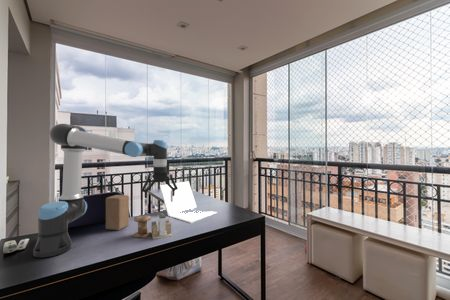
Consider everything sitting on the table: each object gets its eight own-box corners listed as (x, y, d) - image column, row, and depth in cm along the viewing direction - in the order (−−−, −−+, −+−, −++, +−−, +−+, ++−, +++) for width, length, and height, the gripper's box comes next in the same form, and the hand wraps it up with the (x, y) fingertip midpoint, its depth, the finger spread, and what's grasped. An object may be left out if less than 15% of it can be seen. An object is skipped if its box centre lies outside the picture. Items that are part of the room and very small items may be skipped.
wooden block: (119, 230, 132) (119, 198, 132) (104, 229, 134) (105, 197, 134) (129, 225, 142) (129, 195, 142) (116, 224, 144) (116, 194, 144)
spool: (134, 239, 120) (134, 221, 120) (134, 233, 128) (134, 216, 128) (151, 236, 123) (151, 218, 123) (150, 231, 131) (150, 214, 132)
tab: (159, 236, 121) (159, 217, 121) (157, 230, 129) (157, 213, 129) (165, 235, 122) (165, 216, 122) (163, 230, 130) (163, 212, 131)
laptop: (190, 224, 145) (190, 190, 145) (159, 215, 166) (159, 185, 166) (218, 214, 168) (218, 184, 168) (188, 207, 190) (188, 181, 190)
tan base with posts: (171, 236, 123) (171, 224, 123) (153, 239, 119) (153, 226, 119) (168, 230, 132) (168, 219, 133) (151, 233, 128) (151, 221, 128)
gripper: (137, 167, 118) (137, 206, 118) (182, 166, 128) (182, 202, 128) (137, 166, 125) (136, 203, 124) (180, 165, 135) (179, 199, 134)
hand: (159, 202), depth 126 cm, fingers open, 13 cm apart
